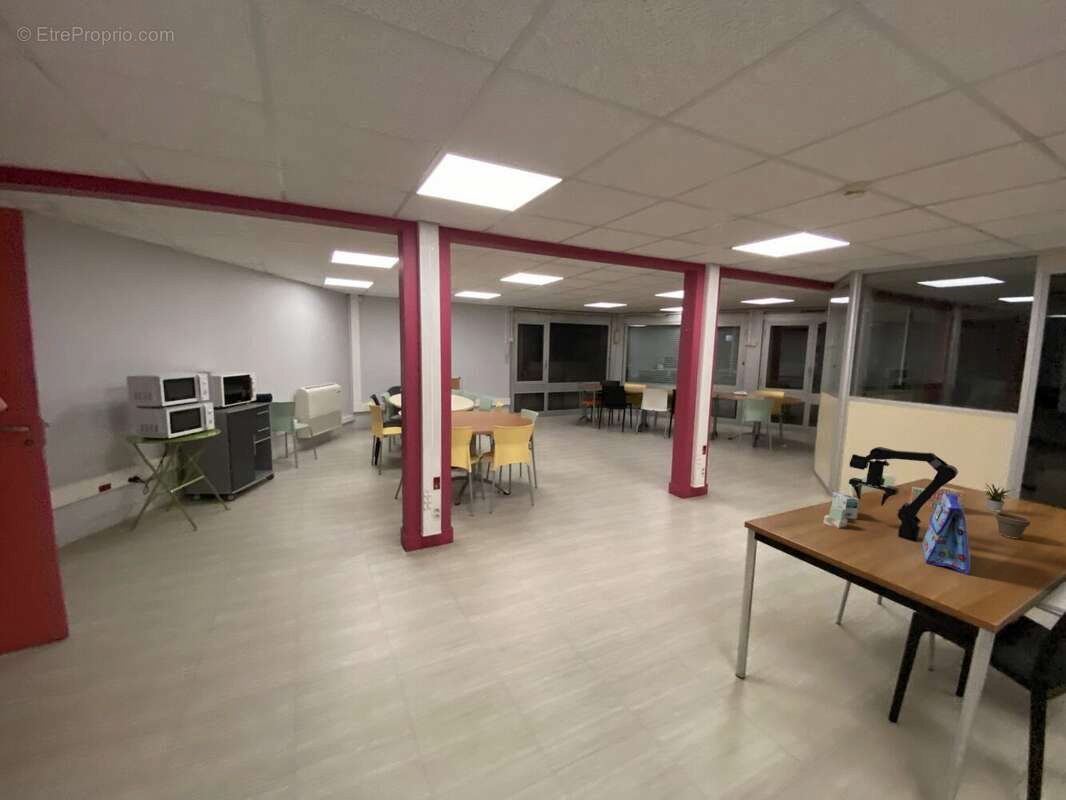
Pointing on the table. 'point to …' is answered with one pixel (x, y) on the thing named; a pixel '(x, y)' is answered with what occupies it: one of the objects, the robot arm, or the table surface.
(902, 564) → the table surface
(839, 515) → the sage block
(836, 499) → the light bulb box
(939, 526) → the lunch bag
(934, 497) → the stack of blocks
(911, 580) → the table surface
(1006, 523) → the flower pot
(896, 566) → the table surface
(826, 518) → the birch slab
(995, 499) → the house plant
